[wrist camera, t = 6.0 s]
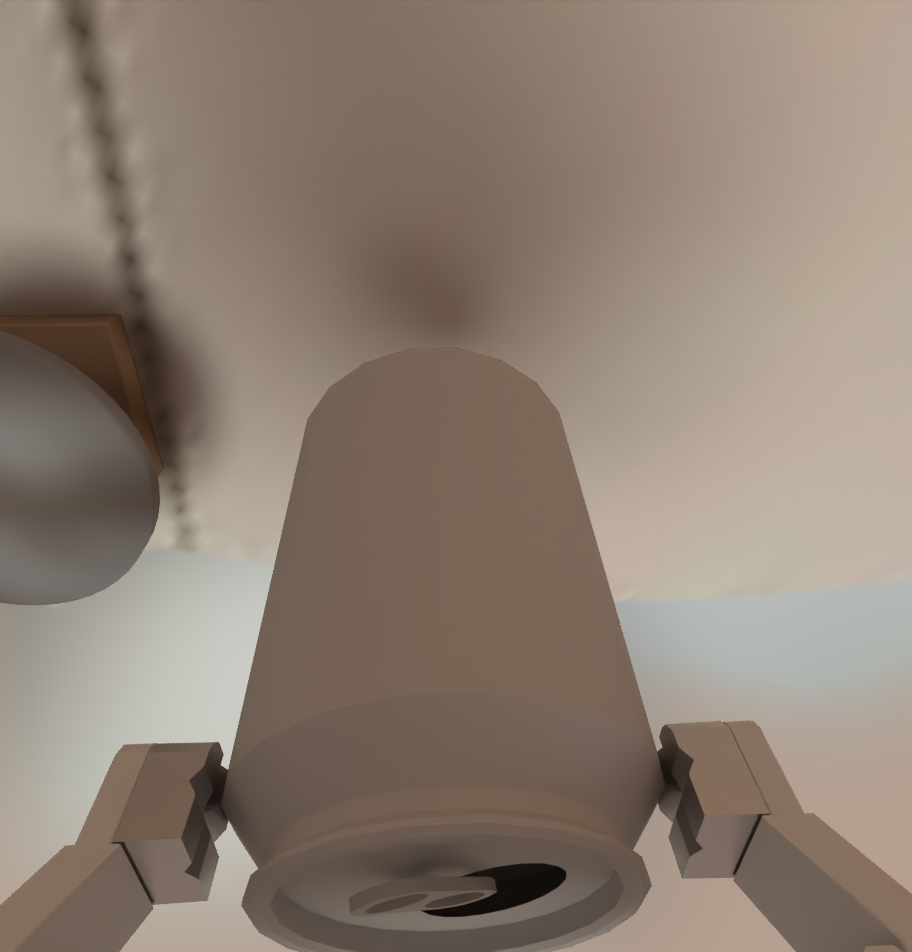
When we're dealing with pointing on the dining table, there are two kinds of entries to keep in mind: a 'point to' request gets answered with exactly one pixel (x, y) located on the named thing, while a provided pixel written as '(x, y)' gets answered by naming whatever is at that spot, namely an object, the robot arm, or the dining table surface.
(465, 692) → the can
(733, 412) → the dining table surface
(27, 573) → the scale
